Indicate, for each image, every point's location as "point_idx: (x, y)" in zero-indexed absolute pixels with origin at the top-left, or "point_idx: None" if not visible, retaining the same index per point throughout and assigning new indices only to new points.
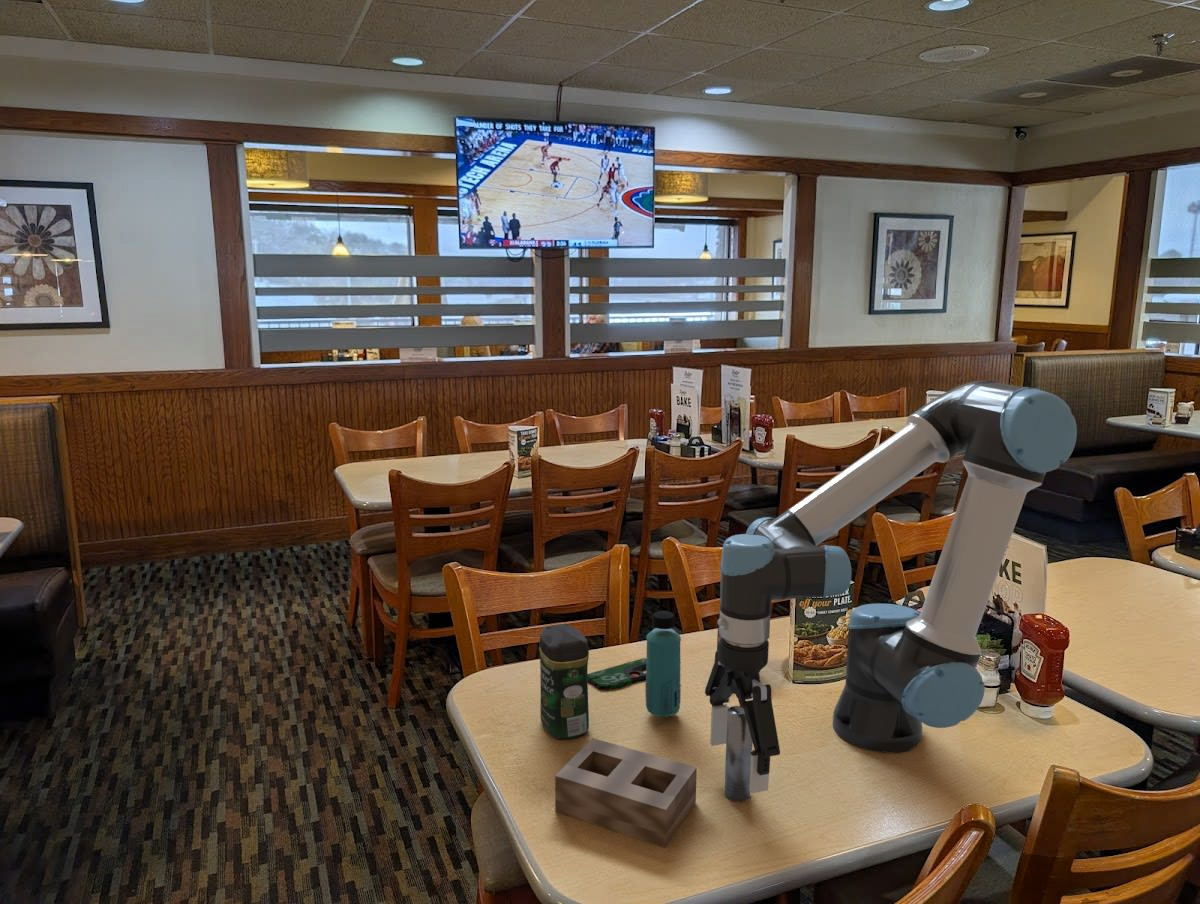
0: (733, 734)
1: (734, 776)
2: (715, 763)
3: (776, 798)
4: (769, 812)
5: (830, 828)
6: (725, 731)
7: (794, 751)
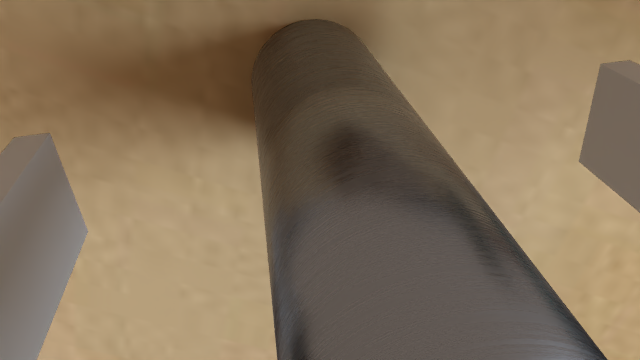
0: (336, 279)
1: (272, 95)
2: (568, 63)
3: (252, 225)
4: (158, 172)
5: None
6: (636, 190)
7: None
